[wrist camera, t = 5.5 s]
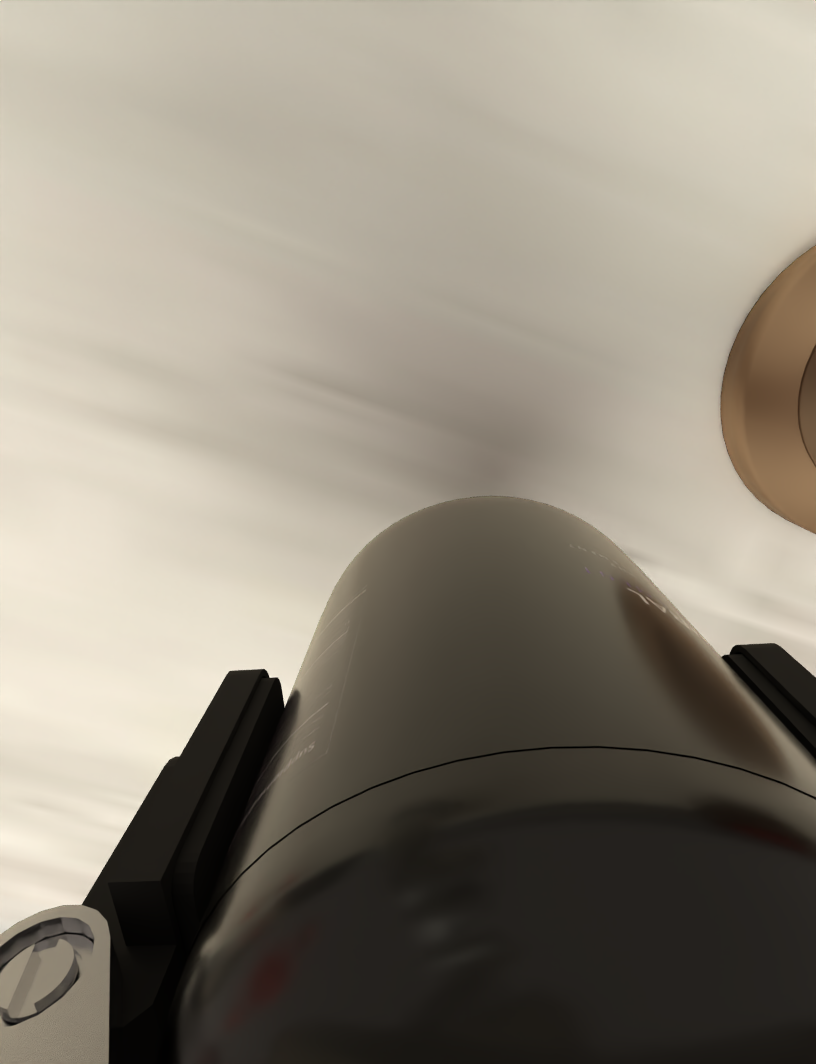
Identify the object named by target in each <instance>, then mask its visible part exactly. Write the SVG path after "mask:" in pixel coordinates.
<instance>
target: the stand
mask: <svg viewBox="0 0 816 1064" xmlns="http://www.w3.org/2000/svg"><path fill="white" fill-rule="evenodd" d="M721 421H722V429H723V436H724V440H725V443H726V447H727V450H728V454H729V456H730V458H731V461H732V463H733V465H734V467H735V470H736V471H737V473H738V475H739V476H740V478H741V479H742V481H743V482H744V484H745V485H746V487H747V488H748V489H749V490H750V491H751V492H752V493H753V495H754V496H755V497H756V498H757V499H758V500H759V501H760V502H762V503H763V504H764V505H765V506H766V507H768V508H769V509H770V510H771V511H773V512H775V513H776V514H778V515H779V516H781V517H783V518H784V519H786V520H788V521H790V522H792V523H794V524H796V525H798V526H800V527H802V528H804V529H806V530H808V531H811V532H813V533H815V534H816V245H815V246H814V247H812V248H811V249H810V250H808V251H807V252H806V253H804V254H803V255H801V256H800V257H799V258H797V259H796V260H795V261H794V262H793V263H792V264H791V265H790V266H789V267H787V268H786V269H785V270H784V271H783V272H782V273H781V274H780V275H779V276H778V277H777V278H776V279H775V280H774V281H773V283H772V284H771V285H770V286H769V287H768V288H767V289H766V291H765V292H764V293H763V294H762V295H761V297H760V298H759V300H758V301H757V303H756V304H755V305H754V307H753V308H752V310H751V311H750V313H749V314H748V316H747V318H746V320H745V322H744V323H743V325H742V327H741V329H740V331H739V333H738V335H737V337H736V340H735V342H734V345H733V347H732V350H731V352H730V355H729V359H728V362H727V366H726V370H725V373H724V379H723V386H722V393H721Z"/></svg>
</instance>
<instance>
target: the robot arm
mask: <svg viewBox="0 0 816 1064" xmlns="http://www.w3.org/2000/svg"><path fill="white" fill-rule="evenodd" d="M722 658H723V659H724V660H725V662H726V663H727V664H728V665H729V666H730V667H731V668H732V669H733V670H734V671H735V672H736V673H737V675H738V676H739V677H740V678H741V679H742V680H743V681H744V682H745V683H746V684H747V685H748V686H749V688H750V689H751V690H752V691H753V692H754V693H755V694H756V695H757V696H758V697H759V698H760V699H761V701H762V702H763V703H764V704H765V705H766V706H767V707H768V708H769V709H770V710H771V711H772V712H773V714H774V715H775V716H776V717H777V718H778V719H779V720H780V721H781V722H782V723H783V724H784V726H785V727H786V728H787V729H788V730H789V731H790V732H791V733H792V734H793V735H794V736H795V737H796V739H797V740H798V741H799V742H800V743H801V744H802V745H803V746H804V747H805V748H806V749H807V750H808V752H809V753H810V754H811V755H812V756H813V757H814V758H815V759H816V677H814V676H813V675H812V674H811V673H810V672H809V671H808V670H806V669H805V668H804V667H803V666H802V665H801V664H800V663H798V662H797V661H796V660H795V659H794V658H793V657H792V656H791V655H789V654H788V653H787V652H786V651H785V650H784V649H783V648H781V647H780V646H779V645H777V644H774V643H767V644H748V645H736V646H734V647H733V648H732V650H731V652H730V655H724V656H722ZM284 709H285V708H284V701H283V695H282V688H281V683H280V680H279V679H278V678H269V675H268V673H267V671H266V670H265V669H258V670H238V671H229V673H228V674H227V675H226V677H225V679H224V680H223V682H222V684H221V686H220V687H219V689H218V691H217V693H216V694H215V696H214V698H213V700H212V701H211V703H210V705H209V707H208V708H207V710H206V712H205V714H204V715H203V717H202V719H201V721H200V722H199V724H198V726H197V727H196V729H195V731H194V733H193V734H192V736H191V738H190V740H189V741H188V743H187V745H186V747H185V748H184V750H183V752H182V754H181V755H180V757H174V758H172V759H170V760H169V761H168V763H167V764H166V765H165V766H164V768H163V770H162V771H161V773H160V775H159V776H158V778H157V780H156V781H155V783H154V785H153V786H152V788H151V790H150V791H149V793H148V795H147V796H146V798H145V800H144V801H143V803H142V805H141V806H140V808H139V810H138V811H137V813H136V815H135V816H134V818H133V820H132V821H131V823H130V825H129V826H128V828H127V830H126V832H125V833H124V835H123V837H122V838H121V840H120V842H119V843H118V845H117V847H116V848H115V850H114V852H113V853H112V855H111V857H110V858H109V860H108V862H107V863H106V865H105V867H104V868H103V870H102V872H101V873H100V875H99V877H98V878H97V880H96V882H95V883H94V885H93V887H92V888H91V890H90V892H89V893H88V895H87V897H86V899H85V900H84V902H83V904H82V905H63V906H59V907H55V908H51V909H48V910H44V911H41V912H38V913H36V914H34V915H32V916H30V917H28V918H26V919H24V920H22V921H20V922H18V923H16V924H15V925H13V926H12V927H10V928H9V929H8V930H6V931H5V932H3V933H2V934H0V1064H155V1063H156V1058H157V1052H158V1047H159V1041H160V1037H161V1034H162V1031H163V1028H164V1025H165V1022H166V1018H167V1015H168V1012H169V1009H170V1006H171V1003H172V1000H173V997H174V994H175V991H176V988H177V985H178V982H179V980H180V977H181V974H182V971H183V968H184V965H185V962H186V959H187V956H188V953H189V950H190V947H191V945H192V942H193V940H194V937H195V934H196V932H197V929H198V927H199V924H200V922H201V919H202V916H203V914H204V911H205V909H206V906H207V904H208V901H209V899H210V896H211V894H212V891H213V889H214V886H215V883H216V881H217V878H218V876H219V873H220V871H221V868H222V866H223V863H224V861H225V858H226V856H227V853H228V850H229V848H230V845H231V843H232V840H233V838H234V835H235V833H236V830H237V828H238V825H239V823H240V820H241V818H242V815H243V813H244V810H245V807H246V805H247V802H248V800H249V797H250V795H251V792H252V790H253V787H254V785H255V782H256V780H257V777H258V775H259V772H260V770H261V767H262V764H263V762H264V759H265V757H266V754H267V752H268V749H269V747H270V744H271V742H272V739H273V737H274V734H275V732H276V729H277V727H278V724H279V721H280V719H281V716H282V714H283V711H284Z"/></svg>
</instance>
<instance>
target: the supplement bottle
mask: <svg viewBox="0 0 816 1064" xmlns="http://www.w3.org/2000/svg"><path fill="white" fill-rule="evenodd" d="M155 1064H816V759H815V758H814V757H813V756H812V755H811V754H810V753H809V752H808V750H807V749H806V748H805V747H804V746H803V745H802V744H801V743H800V742H799V741H798V740H797V739H796V737H795V736H794V735H793V734H792V733H791V732H790V731H789V730H788V729H787V728H786V727H785V726H784V724H783V723H782V722H781V721H780V720H779V719H778V718H777V717H776V716H775V715H774V714H773V712H772V711H771V710H770V709H769V708H768V707H767V706H766V705H765V704H764V703H763V702H762V701H761V699H760V698H759V697H758V696H757V695H756V694H755V693H754V692H753V691H752V690H751V689H750V688H749V686H748V685H747V684H746V683H745V682H744V681H743V680H742V679H741V678H740V677H739V676H738V675H737V673H736V672H735V671H734V670H733V669H732V668H731V667H730V666H729V665H728V664H727V663H726V662H725V660H724V659H723V658H722V657H721V656H720V655H719V654H718V653H717V652H716V651H715V650H714V648H713V647H712V646H711V645H710V644H709V643H708V642H707V641H706V640H705V639H704V638H703V637H702V635H701V634H700V633H699V632H698V631H697V630H696V629H695V628H694V627H693V626H692V625H691V624H690V622H689V621H688V620H687V619H686V618H685V617H684V616H683V615H682V614H681V613H680V612H679V611H678V609H677V608H676V607H675V606H674V605H673V604H672V603H671V602H670V601H669V600H668V599H667V597H666V596H665V595H664V594H663V593H662V592H661V591H660V590H659V589H658V588H657V587H656V586H655V584H654V583H653V582H652V581H651V580H650V579H649V578H648V577H647V576H646V575H645V574H644V573H643V571H642V570H641V569H640V568H639V567H638V566H637V565H636V564H635V563H634V562H633V561H632V560H631V559H630V558H629V557H628V556H627V555H626V554H625V553H624V552H623V551H622V550H621V549H620V548H619V547H618V546H616V545H615V544H614V543H613V542H612V541H611V540H610V539H609V538H607V537H606V536H605V535H604V534H602V533H601V532H600V531H598V530H597V529H596V528H594V527H593V526H591V525H590V524H588V523H586V522H585V521H583V520H582V519H580V518H578V517H576V516H574V515H572V514H570V513H568V512H566V511H564V510H561V509H559V508H556V507H553V506H550V505H547V504H544V503H540V502H536V501H532V500H528V499H522V498H515V497H504V496H479V497H469V498H462V499H456V500H452V501H447V502H443V503H439V504H436V505H433V506H430V507H427V508H424V509H422V510H420V511H418V512H415V513H413V514H411V515H409V516H407V517H405V518H403V519H401V520H400V521H398V522H396V523H394V524H393V525H391V526H390V527H388V528H387V529H386V530H384V531H383V532H381V533H380V534H379V535H377V536H376V537H375V538H374V539H373V540H372V541H371V542H369V543H368V544H367V545H366V546H365V547H364V548H363V549H362V550H361V551H360V552H359V553H358V555H357V556H356V557H355V558H354V559H353V561H352V562H351V563H350V564H349V566H348V567H347V568H346V570H345V571H344V573H343V574H342V576H341V578H340V579H339V581H338V583H337V584H336V586H335V588H334V590H333V592H332V594H331V596H330V598H329V600H328V602H327V605H326V607H325V609H324V612H323V614H322V616H321V618H320V620H319V623H318V625H317V628H316V630H315V633H314V635H313V638H312V641H311V643H310V646H309V648H308V651H307V653H306V656H305V658H304V661H303V663H302V666H301V668H300V671H299V673H298V676H297V678H296V681H295V684H294V686H293V689H292V691H291V694H290V696H289V699H288V701H287V704H286V706H285V709H284V711H283V714H282V716H281V719H280V721H279V724H278V727H277V729H276V732H275V734H274V737H273V739H272V742H271V744H270V747H269V749H268V752H267V754H266V757H265V759H264V762H263V764H262V767H261V770H260V772H259V775H258V777H257V780H256V782H255V785H254V787H253V790H252V792H251V795H250V797H249V800H248V802H247V805H246V807H245V810H244V813H243V815H242V818H241V820H240V823H239V825H238V828H237V830H236V833H235V835H234V838H233V840H232V843H231V845H230V848H229V850H228V853H227V856H226V858H225V861H224V863H223V866H222V868H221V871H220V873H219V876H218V878H217V881H216V883H215V886H214V889H213V891H212V894H211V896H210V899H209V901H208V904H207V906H206V909H205V911H204V914H203V916H202V919H201V922H200V924H199V927H198V929H197V932H196V934H195V937H194V940H193V942H192V945H191V947H190V950H189V953H188V956H187V959H186V962H185V965H184V968H183V971H182V974H181V977H180V980H179V982H178V985H177V988H176V991H175V994H174V997H173V1000H172V1003H171V1006H170V1009H169V1012H168V1015H167V1018H166V1022H165V1025H164V1028H163V1031H162V1034H161V1037H160V1041H159V1047H158V1052H157V1058H156V1063H155Z"/></svg>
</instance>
